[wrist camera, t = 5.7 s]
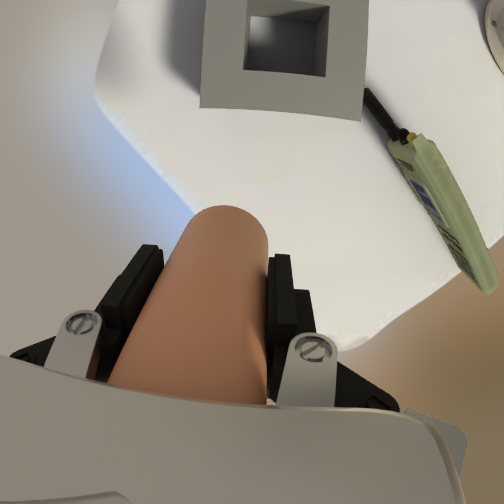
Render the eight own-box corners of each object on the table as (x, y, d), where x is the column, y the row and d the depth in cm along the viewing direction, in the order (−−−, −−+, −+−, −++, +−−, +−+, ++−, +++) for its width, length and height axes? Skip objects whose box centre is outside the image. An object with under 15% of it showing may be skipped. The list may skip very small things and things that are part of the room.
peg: (271, 208, 14) (273, 510, 3) (264, 285, 16) (255, 545, 5) (181, 203, 14) (31, 456, 4) (184, 278, 16) (102, 518, 5)
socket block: (349, 0, 22) (368, -19, 16) (342, 116, 27) (360, 121, 22) (219, -12, 22) (209, -34, 16) (212, 105, 27) (199, 108, 22)
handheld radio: (456, 271, 35) (344, 101, 27) (474, 255, 34) (368, 81, 26) (483, 300, 29) (368, 101, 21) (503, 281, 28) (397, 77, 20)
